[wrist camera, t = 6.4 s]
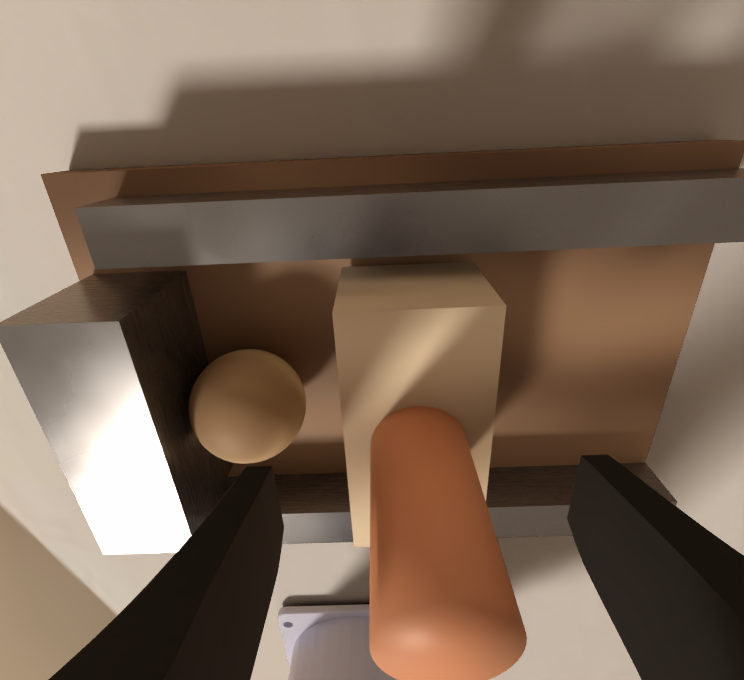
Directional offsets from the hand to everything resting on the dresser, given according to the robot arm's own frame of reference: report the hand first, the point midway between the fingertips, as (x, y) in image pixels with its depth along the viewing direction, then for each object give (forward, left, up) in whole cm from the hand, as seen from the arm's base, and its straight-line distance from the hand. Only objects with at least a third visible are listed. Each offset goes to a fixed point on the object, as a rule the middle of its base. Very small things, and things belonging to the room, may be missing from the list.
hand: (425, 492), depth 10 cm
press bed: (0, 0, -7) cm, 7 cm away
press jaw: (0, 0, -5) cm, 5 cm away
